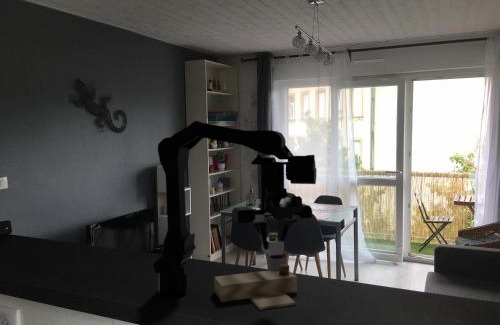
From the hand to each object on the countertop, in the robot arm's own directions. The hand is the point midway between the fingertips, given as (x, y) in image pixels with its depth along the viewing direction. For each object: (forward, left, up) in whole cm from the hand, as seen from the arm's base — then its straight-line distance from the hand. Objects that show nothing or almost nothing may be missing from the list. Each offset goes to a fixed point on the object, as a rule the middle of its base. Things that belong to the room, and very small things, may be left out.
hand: (272, 248), depth 98 cm
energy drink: (+9, +19, -13) cm, 25 cm away
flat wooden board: (0, 0, -13) cm, 13 cm away
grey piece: (0, 0, -1) cm, 1 cm away
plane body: (-2, +8, -13) cm, 15 cm away
